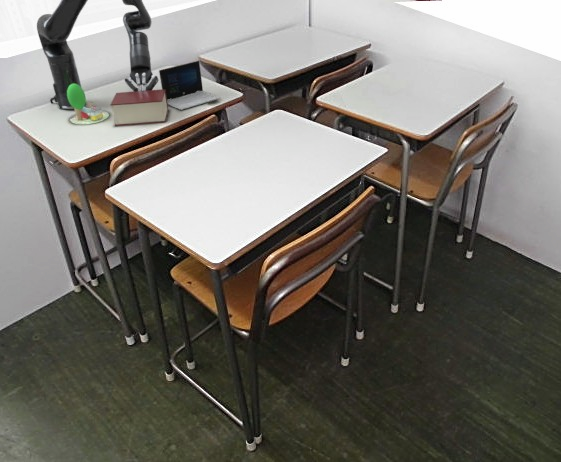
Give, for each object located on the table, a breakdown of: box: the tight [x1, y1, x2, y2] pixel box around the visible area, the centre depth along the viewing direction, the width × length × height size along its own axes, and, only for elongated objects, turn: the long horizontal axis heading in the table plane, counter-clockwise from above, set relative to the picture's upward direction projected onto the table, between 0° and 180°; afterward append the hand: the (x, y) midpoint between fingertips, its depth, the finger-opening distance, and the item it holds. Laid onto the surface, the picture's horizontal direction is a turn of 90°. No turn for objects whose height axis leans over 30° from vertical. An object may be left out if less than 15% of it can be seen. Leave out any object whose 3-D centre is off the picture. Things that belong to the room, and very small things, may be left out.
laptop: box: [158, 60, 220, 111], centre depth 203 cm, size 18×12×13 cm
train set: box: [67, 84, 110, 125], centre depth 193 cm, size 15×14×14 cm
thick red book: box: [109, 88, 169, 127], centre depth 192 cm, size 18×13×8 cm
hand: (143, 101), depth 198 cm, fingers closed
